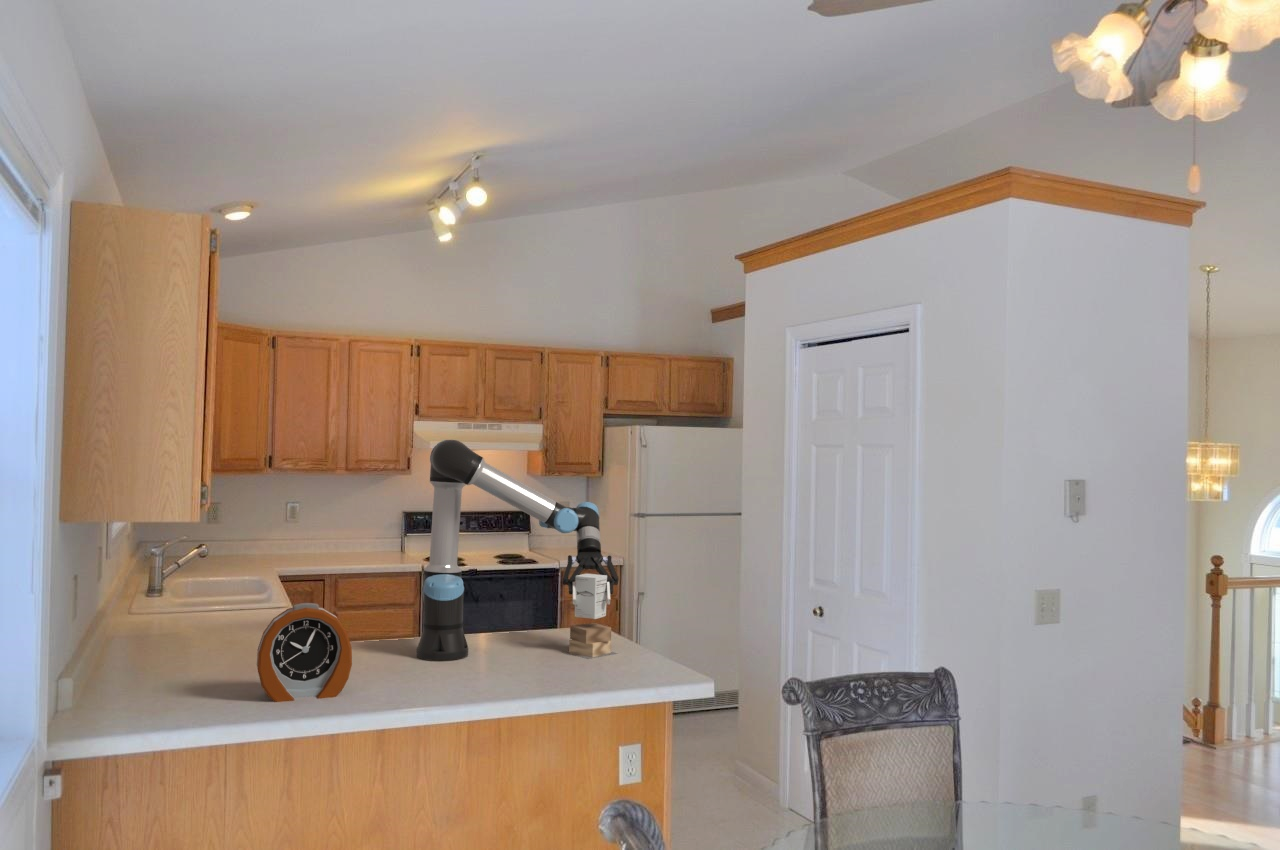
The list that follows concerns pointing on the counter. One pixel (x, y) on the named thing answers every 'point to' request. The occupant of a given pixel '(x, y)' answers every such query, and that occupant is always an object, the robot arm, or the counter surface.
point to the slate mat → (591, 657)
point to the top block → (590, 633)
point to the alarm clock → (304, 654)
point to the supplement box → (590, 596)
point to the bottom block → (589, 648)
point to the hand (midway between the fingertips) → (591, 601)
